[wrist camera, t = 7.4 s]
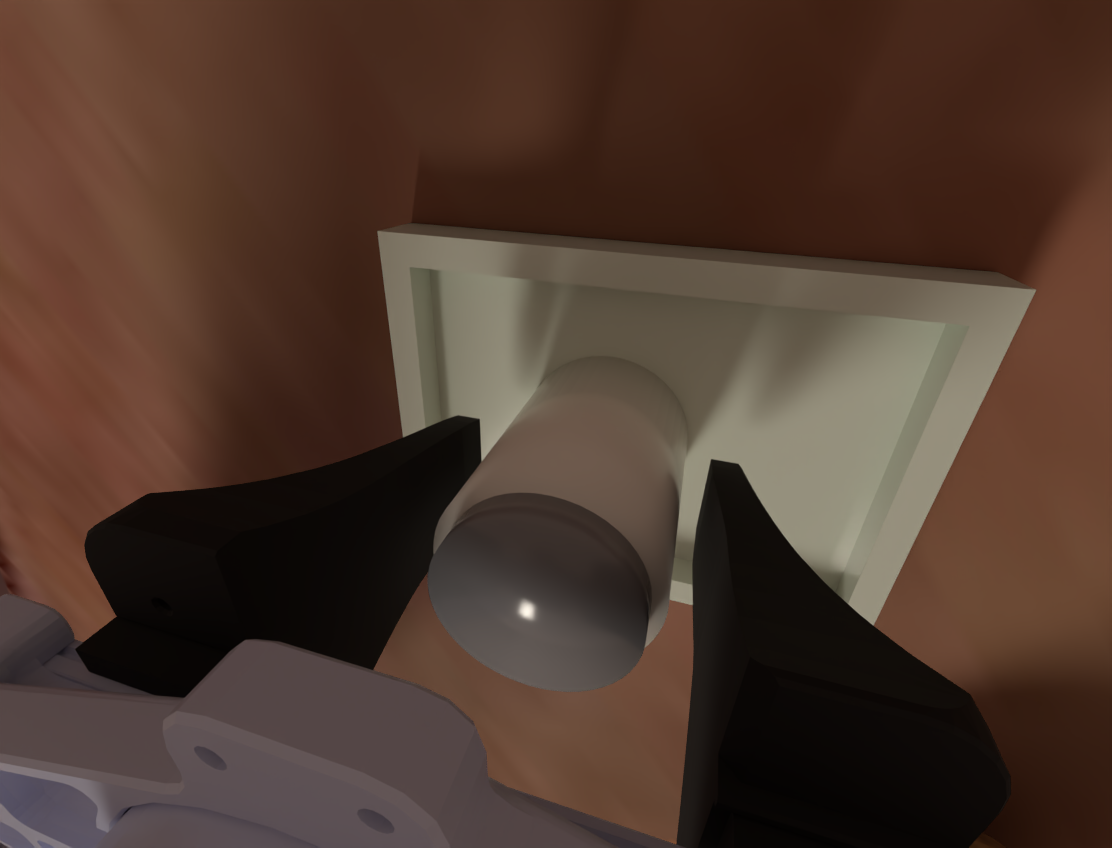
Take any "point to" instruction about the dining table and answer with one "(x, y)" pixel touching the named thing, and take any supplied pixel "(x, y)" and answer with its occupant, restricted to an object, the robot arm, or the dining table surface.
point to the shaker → (567, 530)
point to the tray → (722, 369)
